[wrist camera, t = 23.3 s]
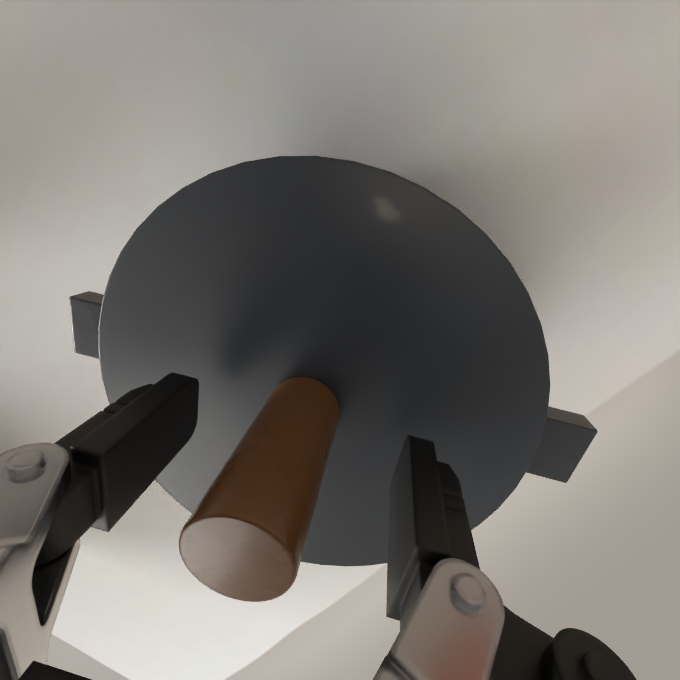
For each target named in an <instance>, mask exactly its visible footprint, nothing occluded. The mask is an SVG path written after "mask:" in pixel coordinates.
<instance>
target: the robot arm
mask: <svg viewBox="0 0 680 680" xmlns="http://www.w3.org/2000/svg"><path fill="white" fill-rule="evenodd" d="M198 399H199V381H198V379H197V378H193V377H189V376H185V375H182V374H178V373H174V372H172V373H169V374H168V375H166V376H165V377H164V378H162V379H161V380H160V381H158V382H157V383H156V384H154V385H153V384H147V385H144V386H141V387H138V388H136V389H133V390H130V391H129V392H128V393H126V394H125V395H123V396H122V397H120V398H119V399H118V400H116V402H115V403H114V402H113V403H112V404H110V405H109V406H107V407H106V408H105V409H104V411H100V412H99V413H97V414H96V415H94V416H93V417H92V418H90V419H89V420H87V421H86V422H84V423H83V424H82V425H80V426H79V427H77V428H76V429H74V430H73V431H71V432H70V433H69V434H67V435H66V436H64V437H63V438H61V439H60V440H58V441H57V442H56V443H54V444H52V443H35V444H29V445H24V446H20V447H17V448H14V449H11V450H9V451H7V452H4V453H2V454H1V455H0V680H91V679H88V678H85V677H82V676H79V675H76V674H73V673H70V672H67V671H64V670H61V669H57V668H55V667H52V666H49V665H47V659H48V648H49V642H50V637H51V633H52V630H53V627H54V624H55V621H56V618H57V615H58V612H59V609H60V606H61V603H62V600H63V597H64V594H65V591H66V588H67V585H68V582H69V579H70V576H71V573H72V570H73V567H74V563H75V560H76V557H77V554H78V551H79V548H80V537H81V536H82V535H83V534H84V533H85V532H86V531H87V530H88V529H89V528H90V527H93V528H96V529H100V530H103V531H106V532H109V531H110V529H111V528H112V527H113V526H114V525H115V524H116V523H117V522H118V520H119V519H120V518H121V517H122V516H123V515H124V514H125V512H126V511H127V510H128V509H129V508H130V507H131V506H132V505H133V503H134V502H135V501H136V500H137V499H138V498H139V497H140V496H141V494H142V493H143V492H144V491H145V490H146V489H147V488H148V486H149V485H150V484H151V483H152V482H153V481H154V480H155V479H156V477H157V476H158V475H159V474H160V473H161V472H162V471H163V469H164V468H165V467H166V466H167V465H168V464H169V463H170V462H171V460H172V459H173V458H174V457H175V456H176V455H177V454H178V452H179V451H180V450H181V449H182V448H183V447H184V446H185V445H186V443H187V442H188V441H189V440H190V438H191V437H192V435H193V433H194V431H195V428H196V425H197V419H198ZM462 497H463V494H462V490H461V485H460V481H459V479H458V477H457V476H456V474H455V473H454V471H453V470H452V468H451V467H450V465H449V464H447V463H443V462H439V461H437V457H436V451H435V445H434V442H433V441H430V440H426V439H422V438H418V437H414V436H411V435H407V437H406V439H405V442H404V444H403V447H402V450H401V453H400V456H399V459H398V462H397V465H396V468H395V471H394V474H393V477H392V481H391V486H390V494H389V528H388V570H387V572H388V573H387V614H386V616H387V617H389V618H393V619H396V620H399V621H400V632H399V634H398V636H397V638H396V640H395V642H394V644H393V646H392V648H391V650H390V651H389V653H388V655H387V656H386V657H385V658H384V660H383V662H382V664H381V666H380V667H379V669H378V671H377V673H376V675H375V677H374V679H373V680H636V678H635V677H634V675H633V674H632V672H631V671H630V670H629V668H628V667H627V666H626V665H625V663H624V662H623V661H622V660H621V659H620V658H619V657H618V656H617V655H616V654H615V653H614V652H613V651H612V650H611V649H610V648H609V647H608V646H606V645H605V644H604V643H603V642H601V641H600V640H599V639H597V638H596V637H594V636H592V635H590V634H589V633H586V632H584V631H582V630H578V629H573V628H566V629H563V630H561V631H559V632H558V634H557V635H556V636H555V637H554V638H552V637H551V636H549V635H548V634H546V633H545V632H543V631H541V630H540V629H538V628H536V627H534V626H533V625H532V624H530V623H528V622H527V621H525V620H523V619H522V618H520V617H519V616H517V615H515V614H514V613H513V612H511V611H510V610H509V609H508V608H507V607H505V606H504V605H503V602H502V599H501V596H500V594H499V592H498V590H497V589H496V587H495V586H494V584H493V583H492V582H491V580H490V579H489V578H488V577H487V576H486V575H485V574H484V573H483V572H482V571H481V570H480V567H479V563H478V559H477V556H476V550H475V546H474V542H473V537H472V533H471V529H470V524H469V520H468V516H467V513H466V507H465V503H464V499H463V498H462Z"/></svg>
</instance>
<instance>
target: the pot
mask: <svg viewBox="0 0 680 680" xmlns="http://www.w3.org/2000/svg"><path fill="white" fill-rule="evenodd" d="M103 297H104V295H103V294H99V293H95V292H91V291H89V292H85V293H81V294H78V295H74V296H70V297H69V302H70V312H71V321H72V330H73V340H74V349H75V352H76V353H79V354H83V355H87V356H91V357H94V358H98V359H100V358H99V321H100V313H101V306H102V300H103ZM596 433H597V430H596V429H595V428H594V426H593V425H592V424H591V423H590V422H589V421H588V420H587V419H586V417H585V416H583V415H580V414H576V413H572V412H568V411H564V410H560V409H556V408H552V407H548V413H547V418H546V422H545V426H544V429H543V433H542V437H541V441H540V444H539V446H538V448H537V450H536V453H535V455H534V457H533V459H532V462H531V464H530V466H529V468H528V470H527V471H526V472H527V473H531V474H535V475H538V476H542V477H546V478H550V479H553V480H557V481H561V482H565V483H566V482H567V481H568V479H569V478H570V476H571V475H572V472H573V471H574V470H575V468H576V466H577V464H578V463H579V461H580V460H581V458H582V456H583V455H584V453H585V451H586V450H587V448H588V447H589V445H590V443H591V442H592V440H593V438H594V437H595V435H596Z"/></svg>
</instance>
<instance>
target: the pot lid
mask: <svg viewBox="0 0 680 680" xmlns="http://www.w3.org/2000/svg"><path fill="white" fill-rule="evenodd" d="M99 358H100V365H101V372H102V378H103V382H104V386H105V389H106V393H107V397H108V401H109V403H110V404H112V403H113V402H114V403H115V402H116V400H118V399H119V398H120V397H122V396H123V395H125V394H126V393H128V392H129V391H130V390H133V389H136V388H138V387H141V386H144V385H147V384H153V385H154V384H156V383H157V382H158V381H160V380H161V379H162V378H164V377H165V376H166V375H168V374H169V373H172V372H174V373H178V374H182V375H185V376H189V377H193V378H197V379H198V381H199V399H198V419H197V425H196V428H195V431H194V433H193V435H192V437H191V438H190V440H189V441H188V442H187V443H186V445H185V446H184V447H183V448H182V449H181V450H180V451H179V452H178V454H177V455H176V456H175V457H174V458H173V459H172V460H171V462H170V463H169V464H168V465H167V466H166V467H165V468H164V469H163V471H162V472H161V473H160V474H159V475H158V476H157V477H156V479H155V480H156V481H157V482H158V483H159V484H160V485H161V486H162V487H163V488H164V489H165V490H166V491H167V492H168V493H169V494H170V495H171V496H172V497H173V498H174V499H175V500H176V501H177V502H179V503H180V504H181V505H182V506H184V507H185V508H186V509H187V510H188V511H190V512H191V513H192V515H191V516H190V518H189V519H188V521H187V522H186V524H185V525H184V527H183V529H182V531H181V534H180V539H179V550H180V554H181V557H182V559H183V561H184V563H185V565H186V566H187V568H188V569H189V571H190V572H191V573H192V574H193V575H194V576H195V577H196V578H197V579H198V580H199V581H200V582H202V583H203V584H204V585H206V586H207V587H209V588H210V589H212V590H214V591H216V592H218V593H220V594H222V595H224V596H227V597H230V598H233V599H237V600H243V601H251V602H259V601H267V600H271V599H274V598H277V597H279V596H281V595H282V594H284V593H285V592H286V591H287V590H288V589H289V588H290V587H291V585H292V584H293V582H294V581H295V579H296V576H297V572H298V568H299V565H300V561H301V562H307V563H314V564H320V565H334V566H365V565H375V564H383V563H388V528H389V494H390V486H391V481H392V477H393V474H394V471H395V468H396V465H397V462H398V459H399V456H400V453H401V450H402V447H403V444H404V442H405V439H406V437H407V435H411V436H414V437H418V438H422V439H426V440H430V441H433V442H434V445H435V451H436V457H437V461H439V462H443V463H447V464H449V465H450V467H451V468H452V470H453V471H454V473H455V474H456V476H457V477H458V479H459V481H460V485H461V490H462V494H463V497H462V498H463V499H464V503H465V507H466V513H467V516H468V520H469V524H470V529H471V530H472V529H473V528H474V527H476V526H478V525H479V524H480V523H482V522H483V521H484V520H485V519H486V518H487V517H489V516H490V515H491V514H492V513H493V512H494V511H496V510H497V509H498V508H499V507H500V506H501V504H502V503H503V502H504V501H505V500H506V499H507V498H508V496H509V495H510V494H511V493H512V492H513V491H514V490H515V488H516V487H517V485H518V484H519V482H520V480H521V479H522V477H523V476H524V474H525V472H526V471H527V470H528V468H529V466H530V464H531V462H532V459H533V457H534V455H535V453H536V450H537V448H538V446H539V444H540V441H541V437H542V433H543V429H544V426H545V422H546V418H547V413H548V402H549V392H550V376H549V360H548V352H547V348H546V344H545V339H544V335H543V331H542V326H541V323H540V320H539V318H538V315H537V313H536V311H535V308H534V306H533V303H532V301H531V298H530V296H529V293H528V292H527V290H526V288H525V287H524V285H523V283H522V282H521V280H520V278H519V277H518V275H517V273H516V272H515V270H514V268H513V267H512V265H511V263H510V262H509V261H508V260H507V258H506V257H505V256H504V255H503V254H502V252H501V251H500V250H499V249H498V248H497V246H496V245H495V244H494V243H493V242H492V240H491V239H490V238H489V237H488V236H487V234H485V233H484V232H483V231H482V230H481V229H480V228H479V227H478V226H476V225H475V224H474V223H473V222H472V221H471V220H470V219H469V218H467V217H466V216H465V215H464V214H463V213H462V212H461V211H460V210H458V209H457V208H455V207H454V206H452V205H451V204H449V203H448V202H446V201H445V200H443V199H442V198H440V197H439V196H437V195H436V194H434V193H432V192H431V191H429V190H428V189H426V188H424V187H422V186H420V185H418V184H416V183H413V182H411V181H409V180H407V179H405V178H403V177H400V176H398V175H396V174H394V173H392V172H389V171H385V170H382V169H379V168H375V167H372V166H368V165H365V164H362V163H358V162H355V161H349V160H342V159H335V158H328V157H320V156H278V157H272V158H266V159H260V160H254V161H248V162H243V163H240V164H237V165H234V166H231V167H228V168H225V169H222V170H219V171H216V172H213V173H210V174H208V175H207V176H205V177H203V178H201V179H199V180H197V181H195V182H193V183H191V184H189V185H187V186H185V187H184V188H182V189H181V190H179V191H178V192H177V193H175V194H174V195H173V196H171V197H170V198H169V199H167V200H166V201H165V202H163V203H162V204H161V205H159V206H158V207H157V208H156V209H155V210H154V211H153V212H152V213H151V214H150V215H149V216H148V217H147V219H146V220H145V221H144V222H143V223H142V224H141V225H140V226H139V227H138V228H137V229H136V231H135V232H134V234H133V235H132V236H131V238H130V239H129V241H128V242H127V244H126V245H125V247H124V248H123V250H122V251H121V253H120V255H119V257H118V259H117V261H116V264H115V266H114V268H113V270H112V272H111V274H110V276H109V280H108V283H107V287H106V290H105V293H104V297H103V300H102V306H101V313H100V321H99Z"/></svg>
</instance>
